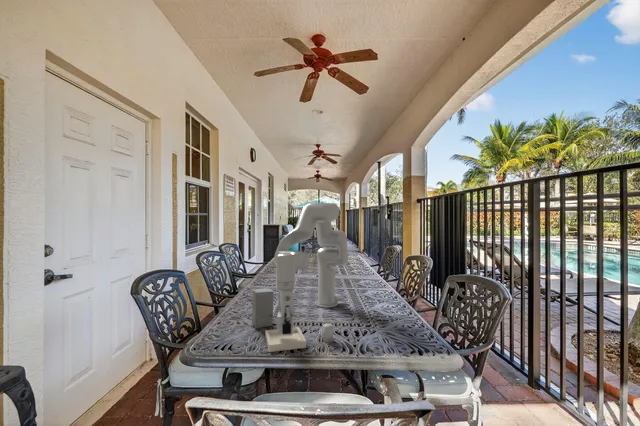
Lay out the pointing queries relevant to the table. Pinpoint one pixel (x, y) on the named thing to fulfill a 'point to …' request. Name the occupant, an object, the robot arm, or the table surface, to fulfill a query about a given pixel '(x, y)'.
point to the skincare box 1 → (262, 308)
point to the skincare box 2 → (280, 323)
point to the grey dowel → (327, 332)
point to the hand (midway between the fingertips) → (285, 329)
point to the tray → (285, 340)
